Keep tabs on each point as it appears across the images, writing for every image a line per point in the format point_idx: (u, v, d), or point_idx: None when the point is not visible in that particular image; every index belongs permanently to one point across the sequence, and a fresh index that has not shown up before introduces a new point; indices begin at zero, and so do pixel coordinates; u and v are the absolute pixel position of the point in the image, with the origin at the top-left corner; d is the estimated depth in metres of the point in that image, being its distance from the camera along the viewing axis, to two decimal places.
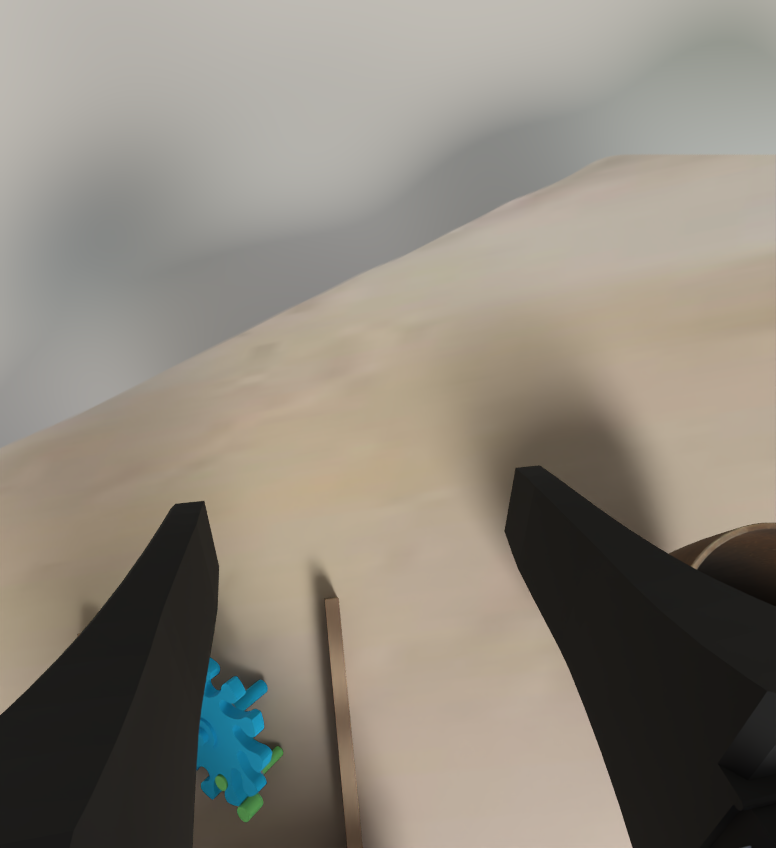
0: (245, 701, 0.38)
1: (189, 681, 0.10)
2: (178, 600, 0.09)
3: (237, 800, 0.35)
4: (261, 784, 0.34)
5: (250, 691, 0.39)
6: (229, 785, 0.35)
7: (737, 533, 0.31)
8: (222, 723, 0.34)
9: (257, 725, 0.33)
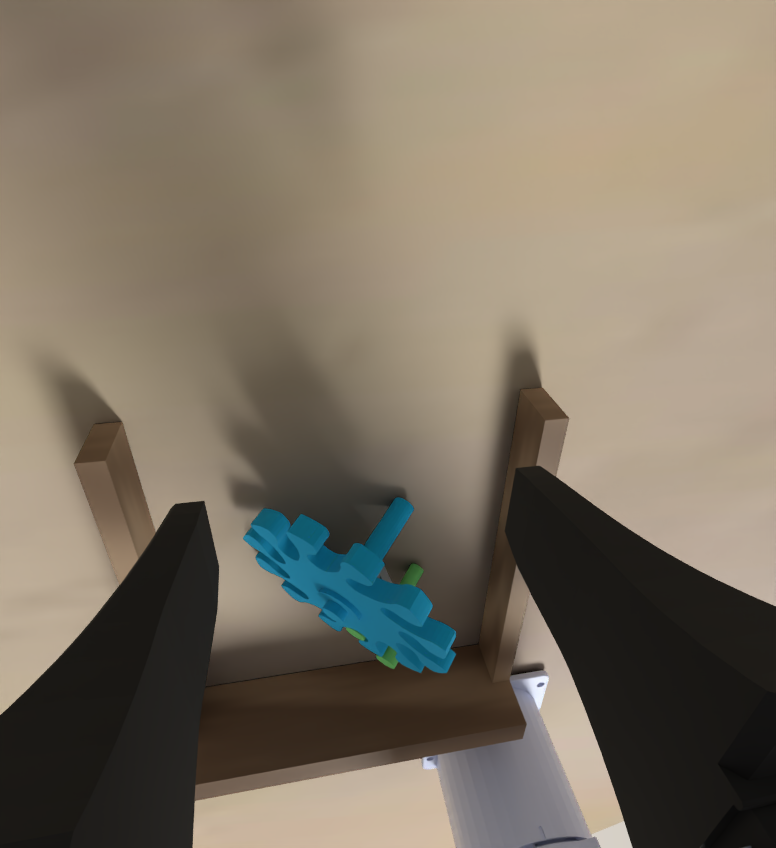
0: (389, 542, 0.24)
1: (189, 681, 0.10)
2: (178, 599, 0.09)
3: (379, 653, 0.25)
4: None
5: (393, 524, 0.24)
6: (370, 642, 0.25)
7: None
8: (379, 618, 0.21)
9: (449, 648, 0.20)
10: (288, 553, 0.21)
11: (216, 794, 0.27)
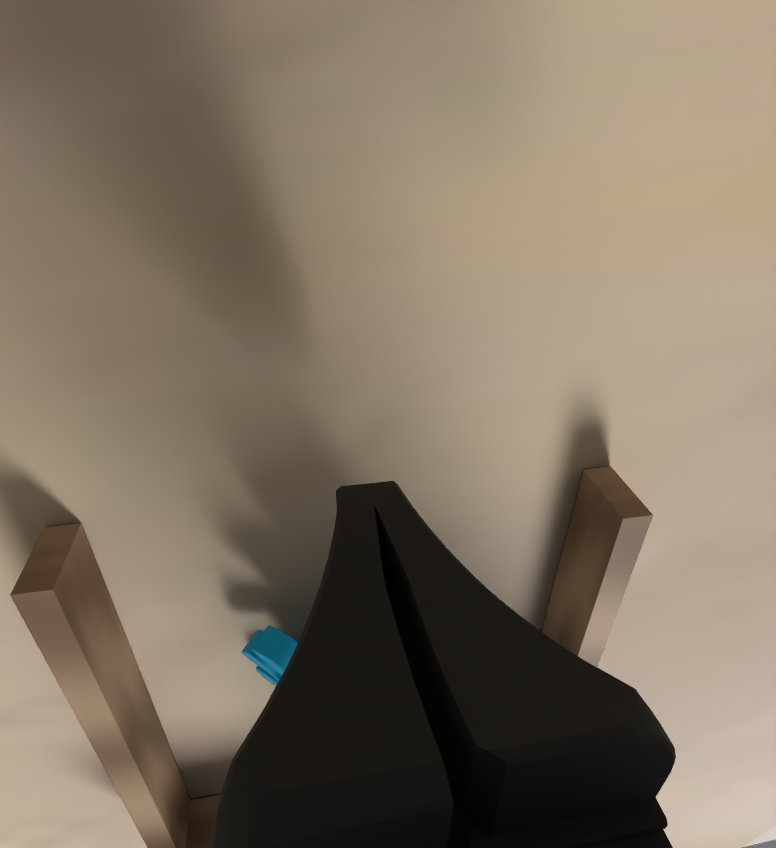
0: None
1: None
2: None
3: None
4: None
5: None
6: None
7: None
8: None
9: None
10: None
11: None
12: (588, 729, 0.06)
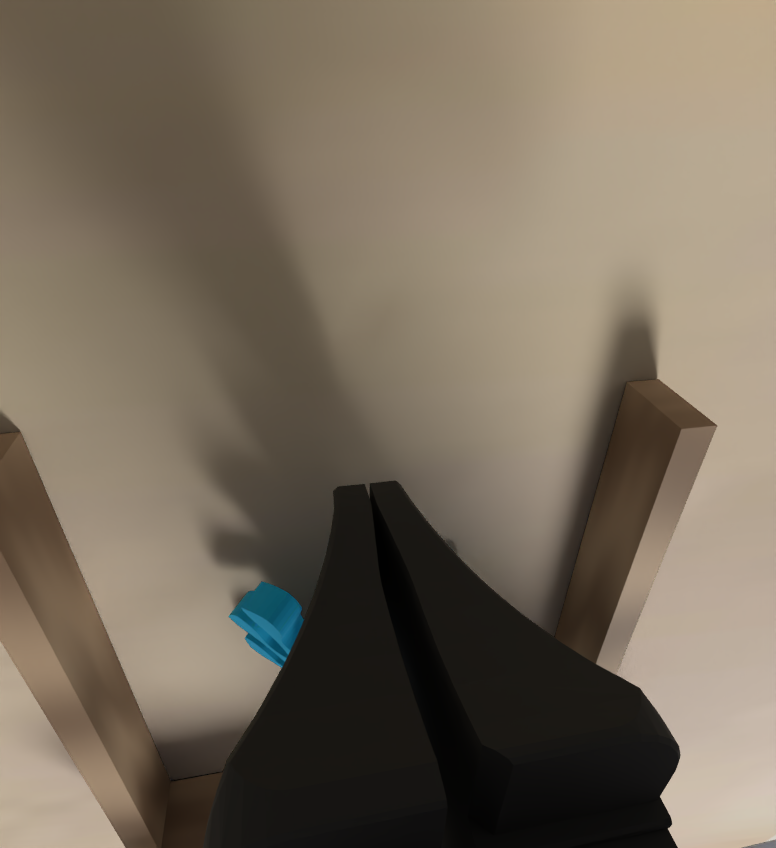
0: None
1: None
2: None
3: None
4: None
5: None
6: None
7: None
8: None
9: None
10: None
11: None
12: (594, 728, 0.06)
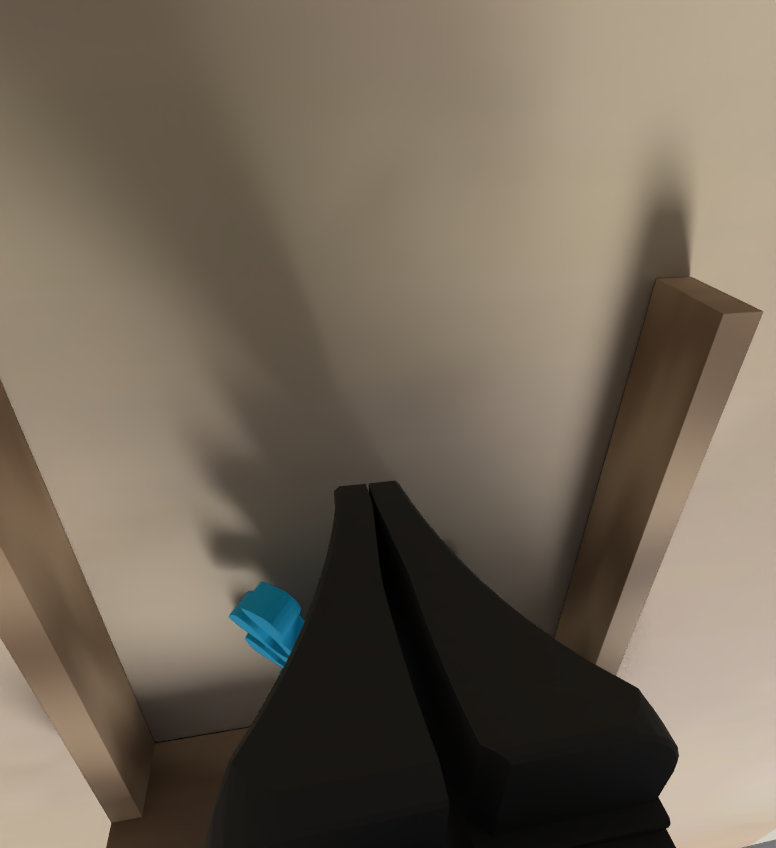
0: None
1: None
2: None
3: None
4: None
5: None
6: None
7: None
8: None
9: None
10: None
11: None
12: (592, 728, 0.06)
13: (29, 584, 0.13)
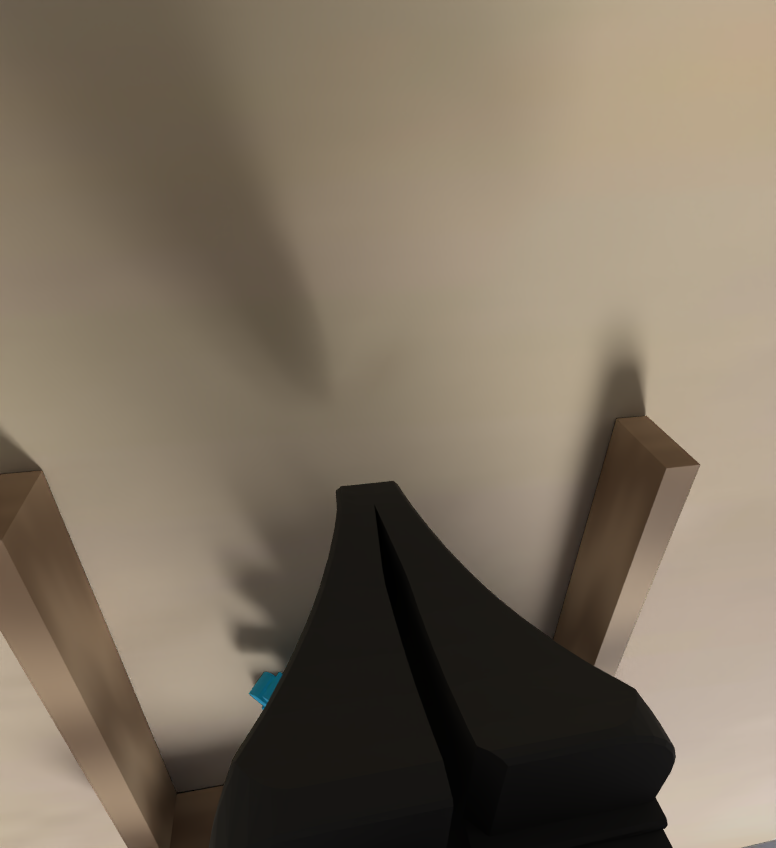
0: None
1: None
2: None
3: None
4: None
5: None
6: None
7: None
8: None
9: None
10: None
11: None
12: (588, 729, 0.06)
13: (83, 686, 0.15)
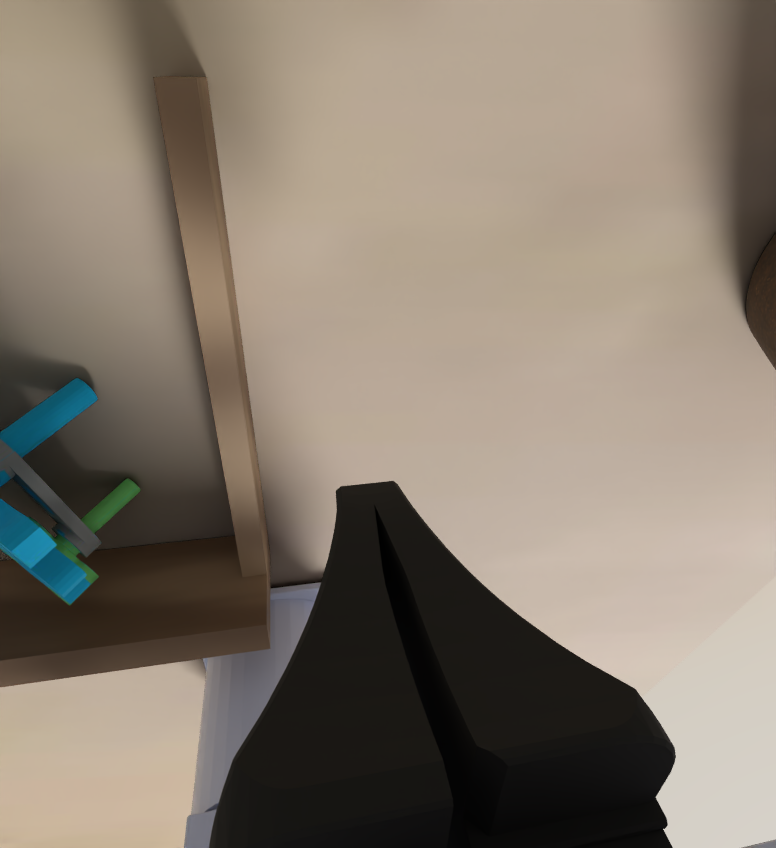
0: (40, 429, 0.18)
1: None
2: None
3: (42, 582, 0.19)
4: (78, 591, 0.18)
5: (52, 407, 0.18)
6: (22, 564, 0.19)
7: None
8: None
9: (32, 552, 0.14)
10: None
11: None
12: (588, 729, 0.06)
13: None
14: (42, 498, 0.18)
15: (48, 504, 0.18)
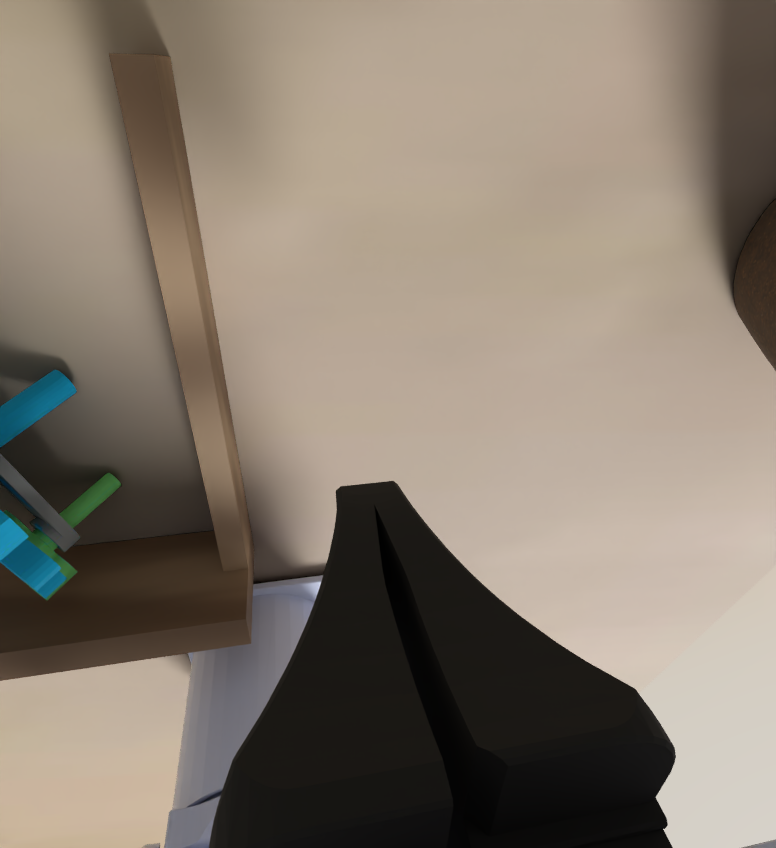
0: (16, 421, 0.18)
1: None
2: None
3: None
4: (53, 585, 0.17)
5: (29, 398, 0.18)
6: None
7: None
8: None
9: (2, 544, 0.14)
10: None
11: None
12: (587, 729, 0.06)
13: None
14: (18, 491, 0.18)
15: (24, 497, 0.18)
